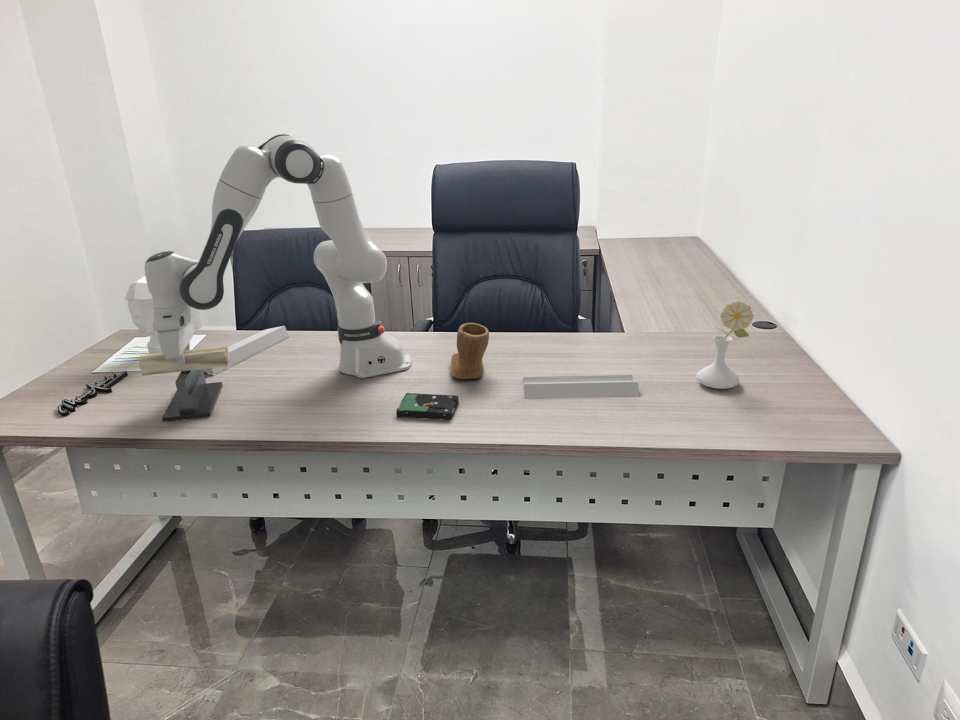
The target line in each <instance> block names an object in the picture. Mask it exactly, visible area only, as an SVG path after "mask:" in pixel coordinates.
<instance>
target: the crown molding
mask: <svg viewBox="0 0 960 720" xmlns="http://www.w3.org/2000/svg"><path fill="white" fill-rule="evenodd" d="M522 382H523V383H522V384H523V391H524V399H525V400H535V399H536V400H537V399H538V400H540V399H542V400H544V399H546V400H547V399H587V398H589V399H590V398H593V399H594V398H596V399H597V398H630V397H631V398H633V397H634V398H639V397H640V388H639V381H638V380H634V378H633V374H609V375H605V374H604V375H571V376H570V375H567V376H566V375H565V376H564V375H562V376H561V375H560V376H557V375H556V376H523V378H522Z"/></svg>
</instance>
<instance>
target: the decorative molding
mask: <svg viewBox="0 0 960 720" xmlns="http://www.w3.org/2000/svg"><path fill="white" fill-rule="evenodd" d="M289 338H290V336H289V333H288V330H287V328H286V326H285V325H281V326H275V327H272V328H271V327H270V328H267V329H263V330H260V331H259V332H257V333H255V334H253V335H251V336H248V337H245V338H243V339H242V340H239V341H237V342H235V343H233V344H231V345H229V346H227V348H228V352H229V357H230V363H229V365H228V366H226V367H217V368H208V369H200V371H203V373H205V372H206V373H205V374H207V373H210V374H216V373H218V372H220V371H222V370H224V369H226V368H228V367H230V366H232V367H234V366H236V365H238V364H240V363H241V361H242V362H244V361H246V360H248V359H250V358H251V356H252V357H253V355H254V356H256V355H257V353H258V354H259V353H261V351H262V352H263V350H264V351H265V349H266V350H267V348H268V349H269V348H271V347H274V346H275V345H277V344H279V343H282V342H283V341H285V340H287V339H289ZM255 354H256V355H255ZM249 357H250V358H249ZM247 358H248V359H247ZM245 359H246V360H245ZM243 360H244V361H243ZM239 362H240V363H239ZM237 363H238V364H237ZM235 364H236V365H235ZM233 365H234V366H233ZM230 368H231V367H230ZM228 369H229V368H228ZM226 370H227V369H226ZM224 371H225V370H224ZM222 372H223V371H222ZM220 373H221V372H220ZM210 374H209V375H210ZM218 374H219V373H218ZM216 375H217V374H216Z"/></svg>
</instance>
